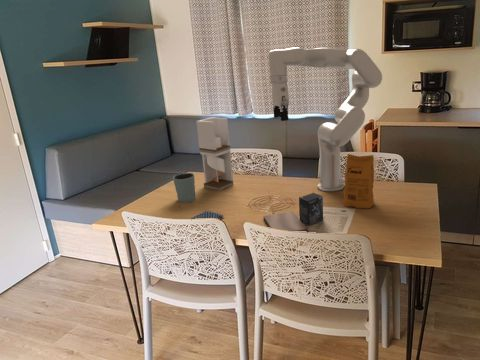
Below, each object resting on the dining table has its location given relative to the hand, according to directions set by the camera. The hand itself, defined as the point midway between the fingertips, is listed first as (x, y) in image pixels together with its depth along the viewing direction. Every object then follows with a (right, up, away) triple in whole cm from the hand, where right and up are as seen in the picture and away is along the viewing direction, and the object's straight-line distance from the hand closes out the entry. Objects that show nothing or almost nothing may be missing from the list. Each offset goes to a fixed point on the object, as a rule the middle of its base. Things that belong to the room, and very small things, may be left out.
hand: (280, 118), depth 179 cm
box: (+10, -44, -19) cm, 49 cm away
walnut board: (-1, -45, -21) cm, 50 cm away
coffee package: (+33, -38, -7) cm, 50 cm away
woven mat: (-32, -44, -9) cm, 55 cm away
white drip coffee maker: (-29, -30, +33) cm, 54 cm away
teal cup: (-44, -37, +17) cm, 60 cm away
